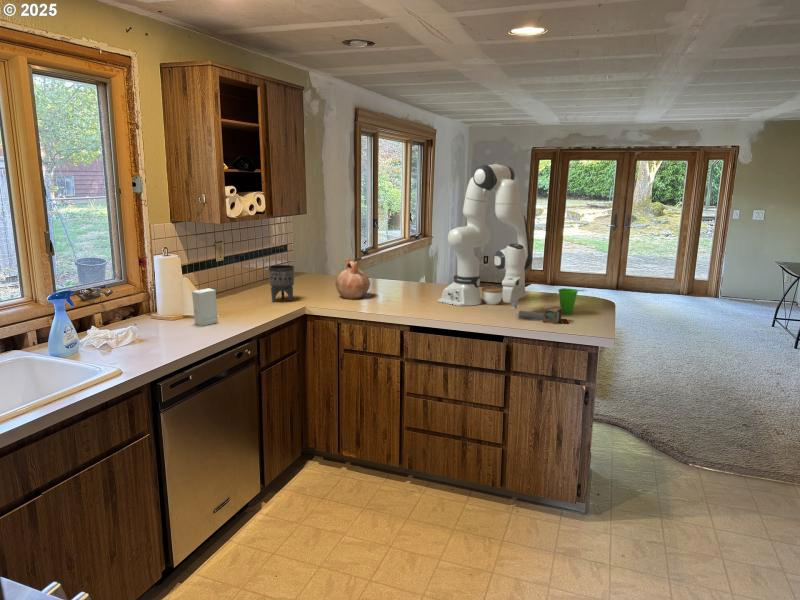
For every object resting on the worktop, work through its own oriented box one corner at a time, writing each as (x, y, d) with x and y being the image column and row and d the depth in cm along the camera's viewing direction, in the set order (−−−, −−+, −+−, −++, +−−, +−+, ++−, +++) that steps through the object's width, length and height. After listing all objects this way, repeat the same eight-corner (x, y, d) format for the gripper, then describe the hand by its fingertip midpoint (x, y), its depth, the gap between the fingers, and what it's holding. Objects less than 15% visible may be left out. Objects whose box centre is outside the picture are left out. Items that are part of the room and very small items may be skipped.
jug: (374, 299, 296) (374, 261, 292) (341, 301, 290) (340, 263, 285) (363, 292, 313) (363, 256, 309) (332, 294, 306) (331, 258, 302)
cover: (542, 322, 251) (543, 308, 250) (548, 318, 258) (548, 305, 257) (555, 324, 248) (556, 310, 247) (561, 320, 255) (562, 306, 253)
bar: (518, 318, 259) (518, 311, 259) (520, 316, 262) (520, 310, 261) (546, 321, 253) (547, 315, 253) (548, 320, 256) (548, 313, 255)
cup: (561, 310, 274) (562, 287, 272) (579, 312, 269) (581, 290, 266) (553, 313, 268) (554, 290, 265) (571, 316, 262) (573, 293, 260)
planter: (277, 304, 282) (275, 269, 278) (265, 300, 292) (263, 266, 288) (300, 301, 290) (299, 267, 286) (287, 297, 300) (286, 264, 296)
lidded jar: (497, 306, 281) (498, 288, 279) (477, 304, 286) (478, 285, 284) (505, 302, 290) (506, 284, 288) (486, 300, 295) (487, 282, 293)
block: (547, 321, 252) (547, 312, 251) (549, 320, 255) (550, 310, 255) (555, 323, 250) (556, 313, 249) (558, 321, 253) (559, 311, 252)
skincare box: (211, 320, 250) (209, 287, 247) (218, 323, 246) (216, 289, 243) (193, 324, 244) (191, 290, 241) (200, 326, 240) (198, 292, 237)
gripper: (516, 276, 270) (515, 304, 272) (500, 282, 253) (499, 312, 255) (529, 277, 267) (527, 305, 269) (513, 283, 249) (512, 314, 252)
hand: (513, 309), depth 262 cm, fingers closed
